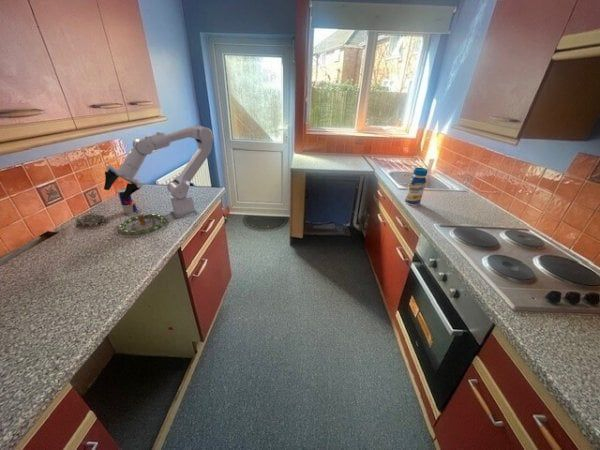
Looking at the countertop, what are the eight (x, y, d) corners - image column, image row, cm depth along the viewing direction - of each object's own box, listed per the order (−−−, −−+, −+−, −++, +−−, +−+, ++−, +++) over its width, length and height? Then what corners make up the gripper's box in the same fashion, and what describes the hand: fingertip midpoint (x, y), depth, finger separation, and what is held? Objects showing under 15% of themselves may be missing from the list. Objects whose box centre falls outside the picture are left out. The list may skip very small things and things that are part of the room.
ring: (164, 214, 121) (162, 210, 120) (170, 230, 107) (168, 225, 106) (118, 223, 112) (117, 218, 111) (119, 242, 98) (117, 237, 97)
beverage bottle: (421, 202, 145) (430, 168, 135) (418, 207, 138) (428, 172, 129) (406, 199, 148) (414, 166, 139) (402, 203, 142) (411, 169, 133)
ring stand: (153, 221, 114) (150, 210, 112) (155, 228, 108) (151, 217, 106) (132, 225, 110) (129, 214, 108) (133, 233, 105) (129, 221, 102)
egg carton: (74, 225, 108) (70, 217, 107) (91, 218, 115) (88, 210, 113) (92, 229, 106) (89, 221, 104) (109, 222, 112) (106, 214, 110)
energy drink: (131, 216, 118) (124, 192, 112) (122, 215, 119) (114, 191, 113) (140, 211, 123) (133, 188, 117) (131, 210, 123) (123, 187, 118)
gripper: (108, 153, 96) (90, 184, 96) (142, 173, 97) (124, 202, 97) (120, 158, 103) (103, 186, 103) (151, 176, 105) (135, 203, 104)
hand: (114, 194), depth 101 cm, fingers open, 7 cm apart
